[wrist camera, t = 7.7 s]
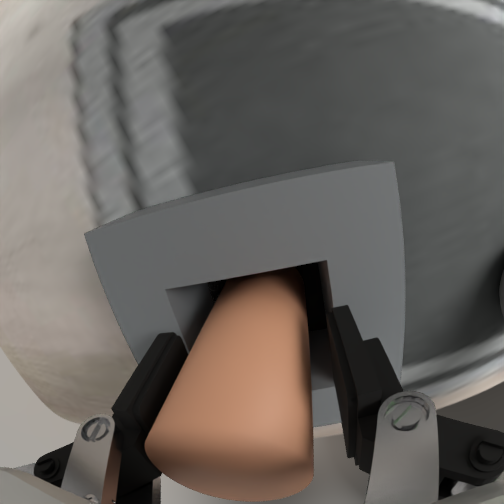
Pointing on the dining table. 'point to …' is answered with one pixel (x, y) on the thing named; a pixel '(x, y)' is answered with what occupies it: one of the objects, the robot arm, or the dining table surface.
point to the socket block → (263, 258)
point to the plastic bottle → (502, 293)
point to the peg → (243, 396)
